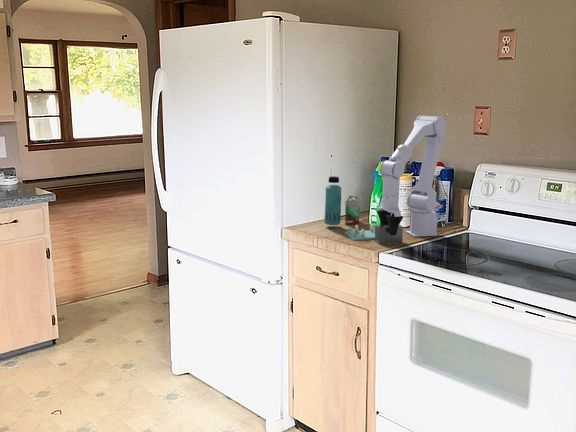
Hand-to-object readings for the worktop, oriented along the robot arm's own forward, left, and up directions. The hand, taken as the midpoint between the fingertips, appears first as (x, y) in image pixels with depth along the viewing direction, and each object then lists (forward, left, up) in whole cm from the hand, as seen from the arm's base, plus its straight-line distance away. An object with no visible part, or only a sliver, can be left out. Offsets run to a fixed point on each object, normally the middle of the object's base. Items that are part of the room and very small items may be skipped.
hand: (388, 232), depth 218 cm
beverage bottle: (+13, -26, -4) cm, 29 cm away
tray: (+4, -10, -4) cm, 11 cm away
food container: (+2, -32, -4) cm, 32 cm away
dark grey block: (0, 0, -4) cm, 4 cm away
